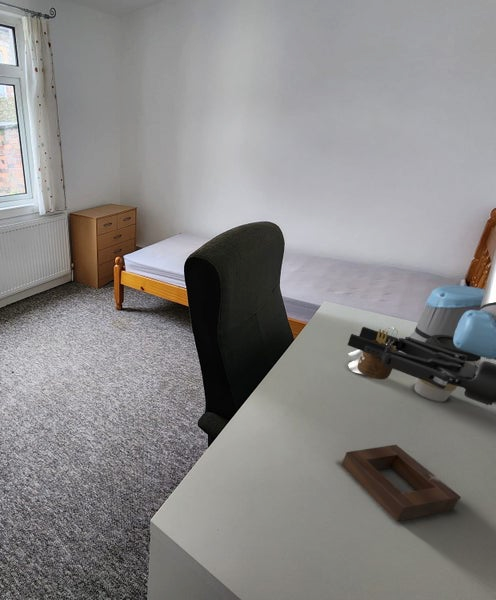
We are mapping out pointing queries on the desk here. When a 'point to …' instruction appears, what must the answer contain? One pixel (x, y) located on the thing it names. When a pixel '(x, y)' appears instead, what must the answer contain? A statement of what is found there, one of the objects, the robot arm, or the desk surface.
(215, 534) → the desk surface
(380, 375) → the utensil holder
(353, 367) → the figurine
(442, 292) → the robot arm
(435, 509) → the wooden frame
